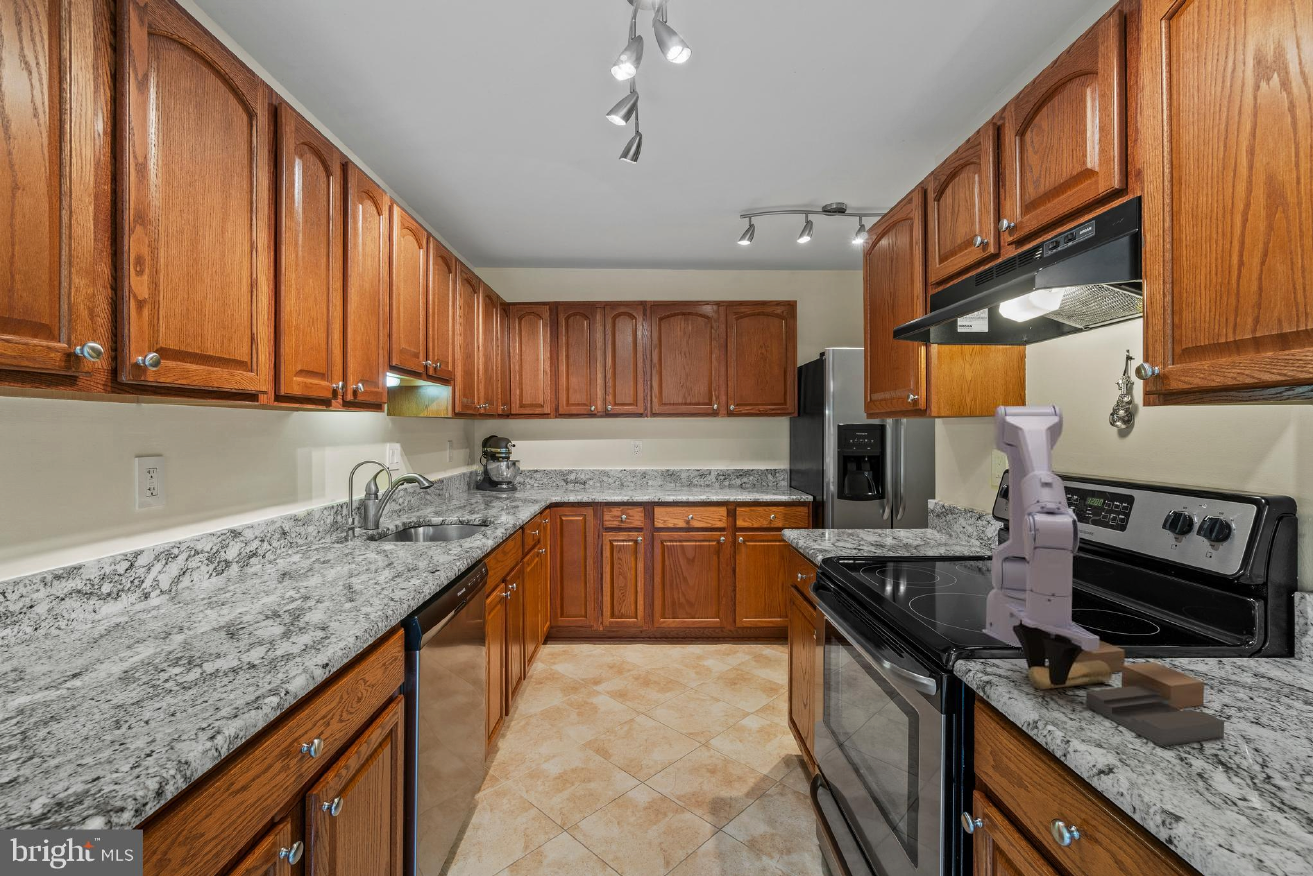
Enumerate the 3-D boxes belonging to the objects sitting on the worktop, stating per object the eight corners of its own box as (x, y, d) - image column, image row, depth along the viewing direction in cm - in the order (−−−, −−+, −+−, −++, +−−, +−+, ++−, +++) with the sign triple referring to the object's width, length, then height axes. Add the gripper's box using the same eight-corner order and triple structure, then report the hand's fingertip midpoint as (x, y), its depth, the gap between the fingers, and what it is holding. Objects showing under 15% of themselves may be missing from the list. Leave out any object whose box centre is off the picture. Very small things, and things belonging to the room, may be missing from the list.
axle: (1046, 693, 83) (1046, 672, 83) (1028, 683, 87) (1028, 663, 86) (1111, 685, 86) (1112, 665, 86) (1091, 676, 89) (1092, 656, 89)
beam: (1056, 656, 96) (1056, 637, 96) (1084, 653, 98) (1085, 634, 97) (1170, 709, 79) (1170, 685, 79) (1203, 705, 80) (1204, 682, 80)
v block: (1086, 706, 80) (1086, 691, 79) (1142, 699, 81) (1142, 685, 81) (1161, 746, 70) (1162, 729, 70) (1223, 737, 72) (1224, 721, 72)
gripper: (989, 579, 91) (987, 660, 92) (1070, 608, 77) (1068, 704, 77) (1025, 576, 93) (1023, 656, 93) (1112, 605, 78) (1110, 699, 79)
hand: (1046, 678), depth 85 cm, fingers closed on axle, 3 cm apart
